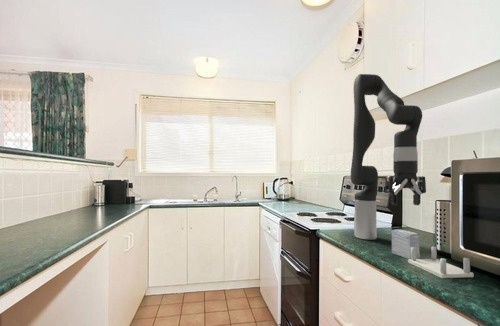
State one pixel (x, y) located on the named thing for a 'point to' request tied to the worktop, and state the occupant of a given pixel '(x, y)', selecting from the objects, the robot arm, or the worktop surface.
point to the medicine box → (405, 243)
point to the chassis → (440, 265)
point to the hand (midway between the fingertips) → (405, 205)
